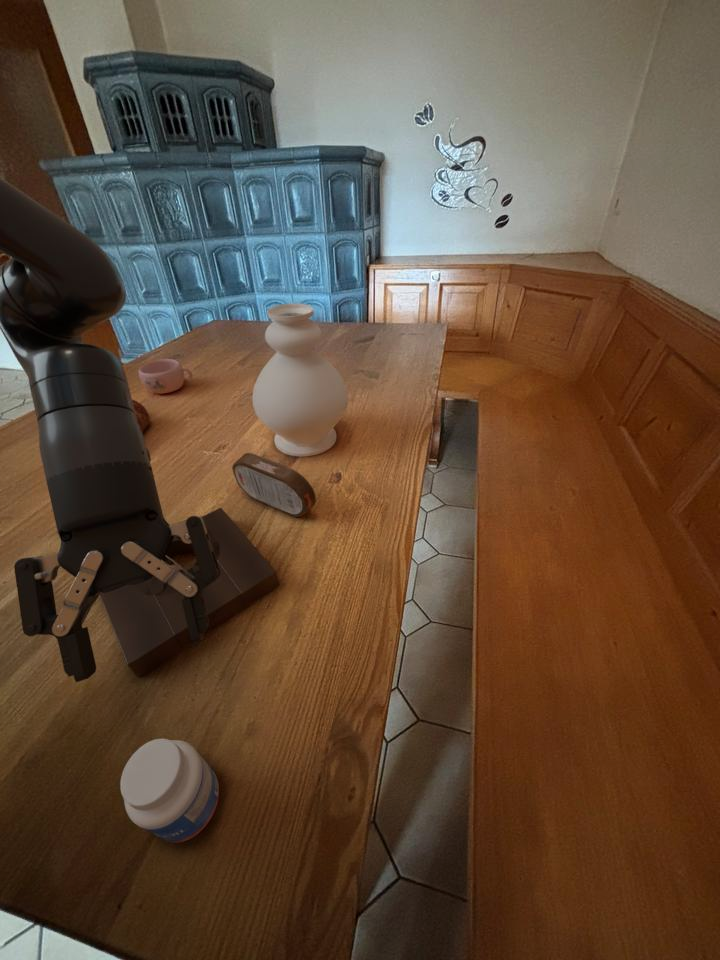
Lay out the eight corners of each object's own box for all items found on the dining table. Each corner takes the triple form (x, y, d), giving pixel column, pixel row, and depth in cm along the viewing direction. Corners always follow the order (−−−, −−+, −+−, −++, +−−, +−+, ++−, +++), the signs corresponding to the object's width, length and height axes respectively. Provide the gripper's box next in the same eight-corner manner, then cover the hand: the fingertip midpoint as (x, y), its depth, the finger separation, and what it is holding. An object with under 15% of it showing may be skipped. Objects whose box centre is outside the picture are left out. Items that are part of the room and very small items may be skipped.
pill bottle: (141, 832, 32) (87, 804, 26) (179, 757, 36) (141, 718, 30) (199, 853, 31) (158, 830, 25) (232, 774, 35) (203, 737, 29)
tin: (318, 514, 61) (314, 473, 56) (307, 527, 59) (301, 485, 54) (248, 484, 67) (238, 444, 62) (235, 494, 65) (224, 454, 60)
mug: (140, 399, 92) (131, 376, 89) (151, 381, 100) (143, 359, 96) (192, 395, 94) (185, 372, 90) (199, 378, 101) (192, 356, 98)
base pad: (138, 678, 42) (127, 665, 40) (98, 581, 52) (88, 567, 50) (279, 585, 51) (276, 571, 49) (222, 518, 61) (218, 504, 59)
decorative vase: (366, 432, 80) (365, 304, 64) (311, 476, 69) (294, 335, 53) (301, 409, 88) (287, 290, 72) (242, 445, 77) (210, 315, 61)
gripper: (-32, 485, 27) (16, 713, 26) (180, 442, 31) (229, 639, 30) (29, 495, 34) (68, 674, 33) (195, 459, 38) (235, 619, 37)
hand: (144, 657), depth 32 cm, fingers open, 8 cm apart
